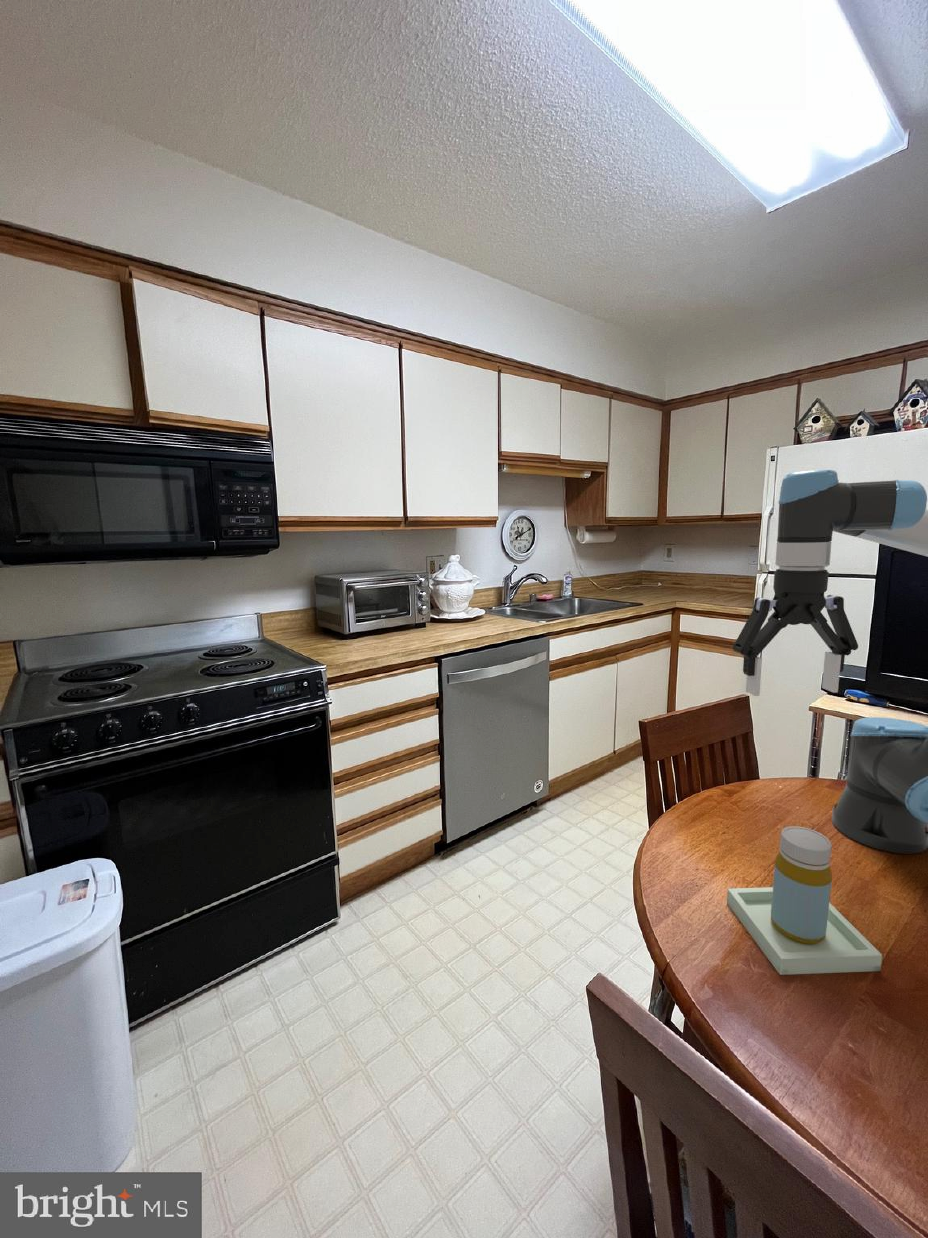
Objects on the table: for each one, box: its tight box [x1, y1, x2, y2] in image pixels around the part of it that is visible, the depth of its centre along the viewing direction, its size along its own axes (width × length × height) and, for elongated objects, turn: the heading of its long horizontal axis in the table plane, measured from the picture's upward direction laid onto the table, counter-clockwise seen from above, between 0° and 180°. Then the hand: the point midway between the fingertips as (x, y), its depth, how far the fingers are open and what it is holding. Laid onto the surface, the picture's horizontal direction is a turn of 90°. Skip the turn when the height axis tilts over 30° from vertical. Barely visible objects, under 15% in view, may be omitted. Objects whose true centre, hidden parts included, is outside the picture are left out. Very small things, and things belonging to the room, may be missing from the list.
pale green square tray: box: [726, 886, 883, 976], centre depth 78 cm, size 14×14×2 cm
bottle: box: [771, 826, 833, 944], centre depth 77 cm, size 7×7×15 cm
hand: (791, 692), depth 89 cm, fingers open, 13 cm apart
